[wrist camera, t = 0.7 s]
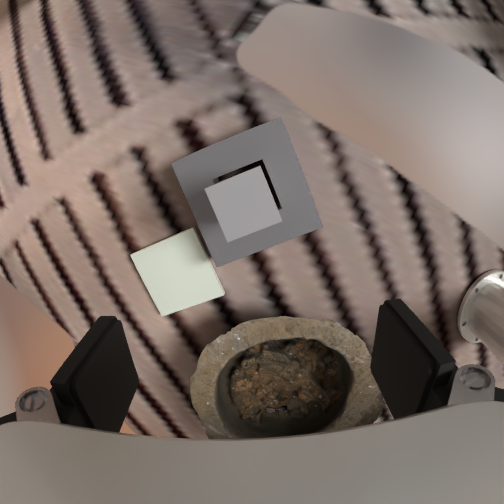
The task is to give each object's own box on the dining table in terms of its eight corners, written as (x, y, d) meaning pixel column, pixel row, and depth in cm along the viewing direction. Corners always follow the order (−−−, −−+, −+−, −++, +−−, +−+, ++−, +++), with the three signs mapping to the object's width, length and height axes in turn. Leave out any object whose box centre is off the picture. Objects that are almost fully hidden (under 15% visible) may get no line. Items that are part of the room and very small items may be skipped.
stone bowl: (299, 443, 47) (299, 483, 38) (174, 377, 45) (154, 416, 36) (402, 349, 40) (423, 387, 31) (264, 254, 39) (257, 281, 30)
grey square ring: (278, 122, 33) (280, 117, 29) (316, 219, 36) (323, 226, 32) (180, 162, 34) (171, 163, 30) (221, 255, 37) (216, 267, 33)
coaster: (194, 226, 36) (193, 227, 36) (224, 292, 39) (224, 294, 38) (132, 253, 38) (130, 255, 37) (163, 313, 40) (162, 316, 39)
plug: (260, 163, 34) (260, 165, 23) (275, 201, 35) (282, 221, 24) (222, 179, 35) (204, 188, 24) (237, 215, 36) (227, 242, 25)
